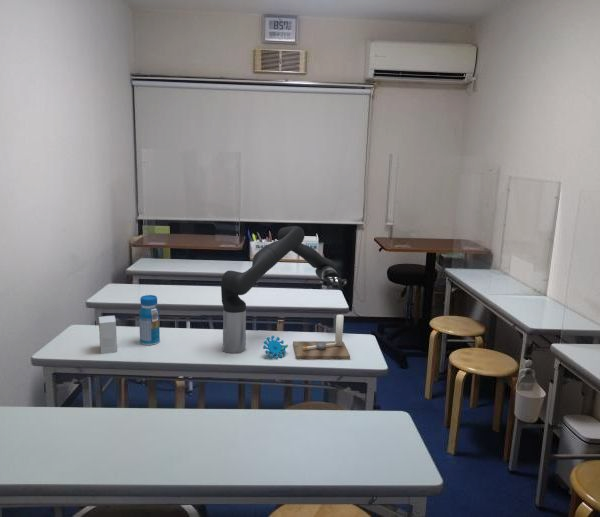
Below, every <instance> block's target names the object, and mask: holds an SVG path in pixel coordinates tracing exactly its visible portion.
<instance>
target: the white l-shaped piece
mask: <svg viewBox="0 0 600 517" xmlns="http://www.w3.org/2000/svg"><path fill="white" fill-rule="evenodd" d="M335 320H336V321H335V340H334V341H335V343H329V344H326V343H323V342H318V343H316V345H315V346H308V347H302V349H303V350H306V349H312V348H316V349H319V350H324V349H326V346H333V345H336V346H342V341H343V335H344V334H343V332H344V314H336V318H335Z"/></svg>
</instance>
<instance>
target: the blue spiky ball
mask: <svg viewBox="0 0 600 517" xmlns="http://www.w3.org/2000/svg"><path fill="white" fill-rule="evenodd" d="M265 339H266V340H264V341H263V342H262V344H263V346H262V349H264V350H265V355H268V354H269V356H268V357H269V358H271V359H272V358H273V357H274V359H275V358H276V360H278V359H279V358H283V357H284V355H285V354H286V352H287V350H286V349H287V348H288V347H289V344H285V345H284V343H285V340H281V337H280V336H277V337H275V335H271V336H267V337H266V338H265ZM280 340H281V341H280ZM274 355H275V356H274Z"/></svg>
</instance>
